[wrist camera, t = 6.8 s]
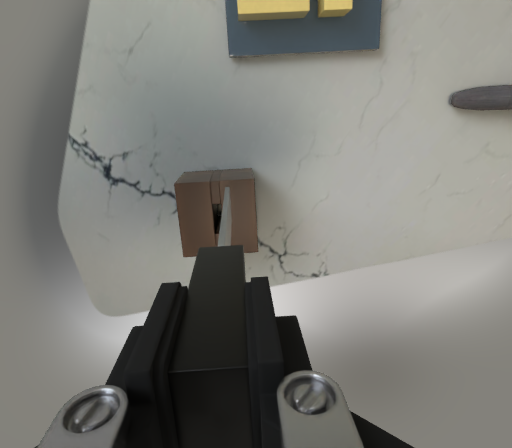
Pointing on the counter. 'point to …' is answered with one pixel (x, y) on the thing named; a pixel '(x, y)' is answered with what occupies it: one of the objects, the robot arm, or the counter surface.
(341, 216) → the counter surface
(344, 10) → the butter slice
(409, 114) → the counter surface
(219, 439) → the knife
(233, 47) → the butter dish
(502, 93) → the ladle
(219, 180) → the knife block
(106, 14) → the counter surface
